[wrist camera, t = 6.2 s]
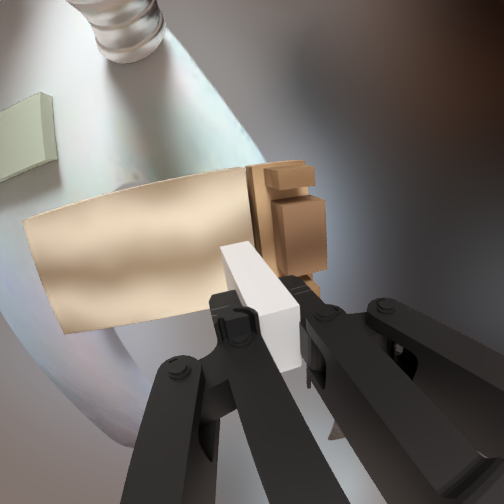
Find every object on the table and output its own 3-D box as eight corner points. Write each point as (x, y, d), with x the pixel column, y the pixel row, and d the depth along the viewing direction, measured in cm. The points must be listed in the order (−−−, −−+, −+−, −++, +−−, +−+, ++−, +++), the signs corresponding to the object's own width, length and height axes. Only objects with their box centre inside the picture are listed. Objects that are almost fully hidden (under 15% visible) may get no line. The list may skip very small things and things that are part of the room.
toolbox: (61, 201, 23) (-1, 233, 13) (268, 158, 28) (324, 162, 17) (87, 288, 27) (51, 356, 16) (277, 249, 31) (329, 300, 20)
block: (270, 200, 19) (282, 206, 17) (309, 194, 20) (324, 200, 18) (277, 265, 21) (288, 278, 19) (313, 257, 22) (327, 269, 20)
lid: (33, 215, 17) (22, 221, 15) (238, 166, 20) (244, 168, 18) (70, 322, 21) (64, 334, 19) (254, 286, 24) (260, 297, 22)
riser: (-28, 139, 17) (-42, 139, 14) (52, 96, 19) (40, 91, 17) (-22, 193, 20) (-36, 198, 17) (57, 158, 22) (45, 159, 19)
